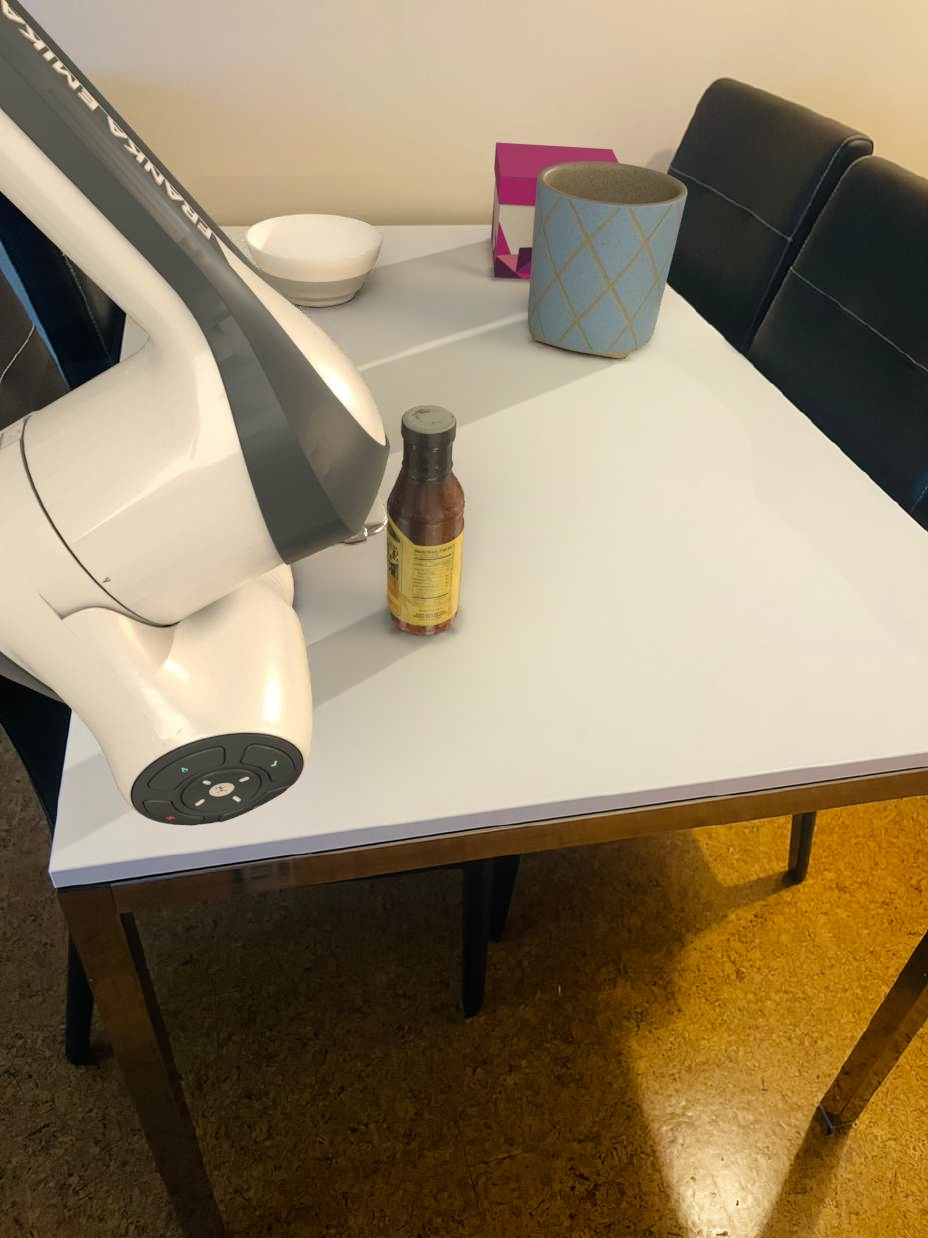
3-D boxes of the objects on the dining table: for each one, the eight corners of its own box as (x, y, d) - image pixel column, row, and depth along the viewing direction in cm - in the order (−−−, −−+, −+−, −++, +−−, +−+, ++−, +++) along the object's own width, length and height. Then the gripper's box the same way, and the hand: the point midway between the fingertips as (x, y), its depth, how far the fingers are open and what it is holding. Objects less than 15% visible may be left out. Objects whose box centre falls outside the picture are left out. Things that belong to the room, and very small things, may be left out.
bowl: (279, 329, 121) (274, 268, 116) (231, 279, 133) (224, 222, 128) (406, 307, 129) (407, 249, 124) (350, 262, 141) (348, 207, 136)
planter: (639, 374, 117) (670, 215, 104) (503, 344, 121) (517, 188, 108) (669, 322, 130) (700, 175, 117) (545, 296, 135) (562, 152, 122)
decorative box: (492, 278, 140) (500, 175, 130) (489, 237, 154) (496, 142, 144) (612, 284, 140) (629, 183, 130) (597, 243, 155) (612, 148, 145)
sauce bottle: (394, 589, 81) (395, 388, 68) (462, 598, 80) (477, 398, 67) (379, 637, 76) (377, 430, 63) (452, 647, 75) (465, 441, 62)
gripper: (395, 489, 48) (353, 373, 58) (-19, 526, 43) (12, 393, 53) (394, 580, 52) (354, 457, 62) (15, 623, 47) (38, 483, 57)
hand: (193, 428), depth 57 cm, fingers open, 8 cm apart
